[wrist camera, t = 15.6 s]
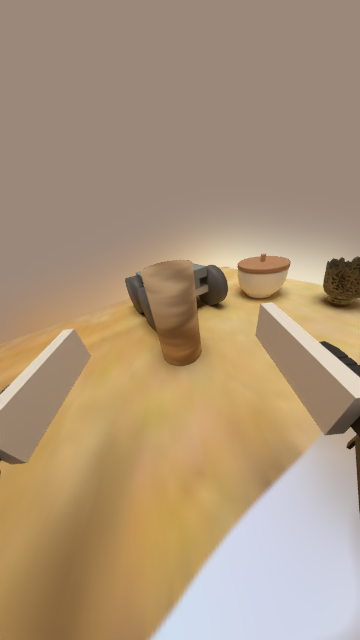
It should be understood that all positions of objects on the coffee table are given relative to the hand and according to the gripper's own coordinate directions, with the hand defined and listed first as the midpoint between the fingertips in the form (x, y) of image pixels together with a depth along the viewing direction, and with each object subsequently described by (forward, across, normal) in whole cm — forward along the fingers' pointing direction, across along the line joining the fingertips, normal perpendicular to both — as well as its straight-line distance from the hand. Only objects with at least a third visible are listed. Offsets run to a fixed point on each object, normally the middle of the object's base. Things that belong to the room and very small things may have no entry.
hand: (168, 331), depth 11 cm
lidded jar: (+28, +20, -12) cm, 36 cm away
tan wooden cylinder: (+10, 0, -12) cm, 16 cm away
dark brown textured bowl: (+18, +32, -12) cm, 38 cm away
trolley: (+27, -1, -12) cm, 29 cm away
